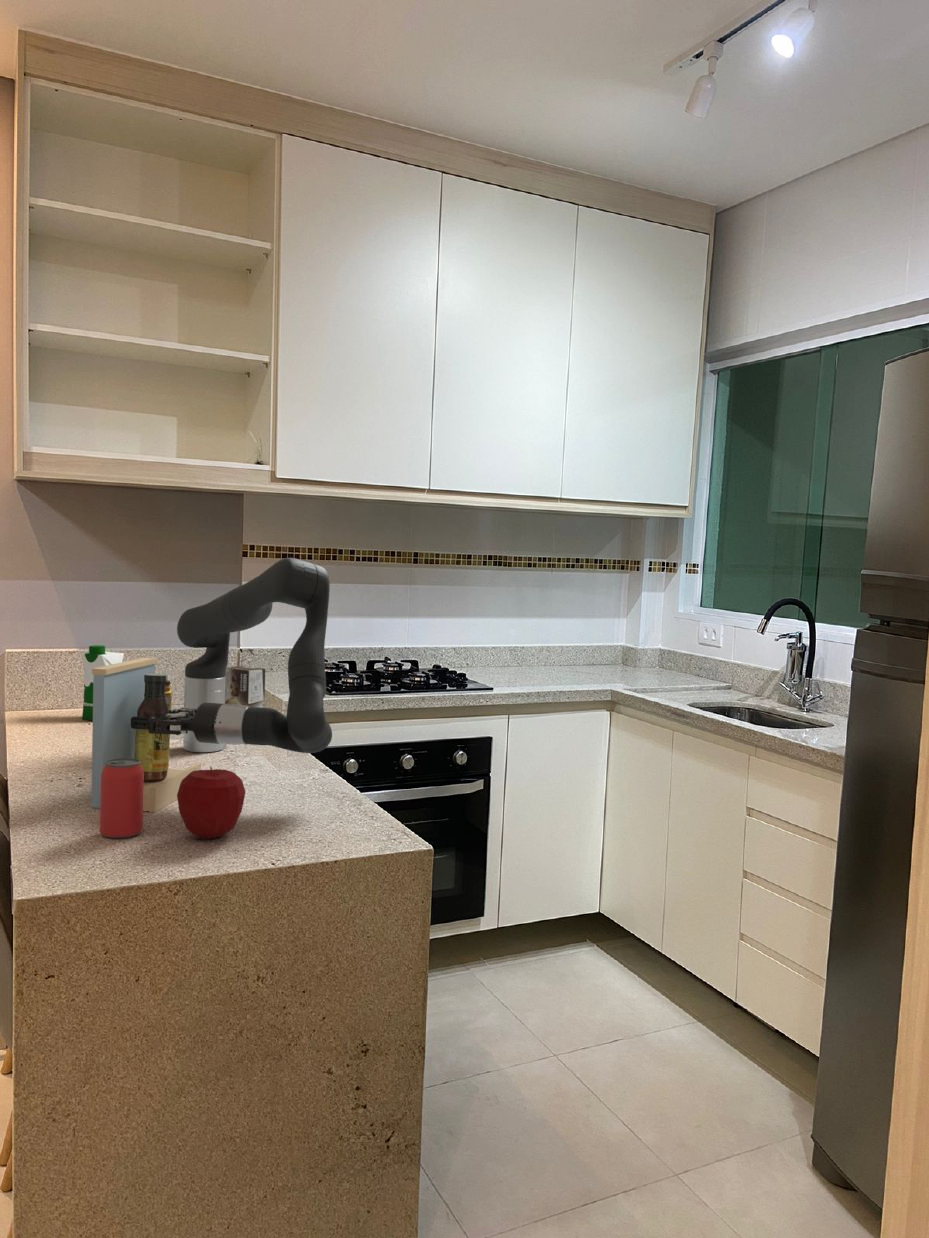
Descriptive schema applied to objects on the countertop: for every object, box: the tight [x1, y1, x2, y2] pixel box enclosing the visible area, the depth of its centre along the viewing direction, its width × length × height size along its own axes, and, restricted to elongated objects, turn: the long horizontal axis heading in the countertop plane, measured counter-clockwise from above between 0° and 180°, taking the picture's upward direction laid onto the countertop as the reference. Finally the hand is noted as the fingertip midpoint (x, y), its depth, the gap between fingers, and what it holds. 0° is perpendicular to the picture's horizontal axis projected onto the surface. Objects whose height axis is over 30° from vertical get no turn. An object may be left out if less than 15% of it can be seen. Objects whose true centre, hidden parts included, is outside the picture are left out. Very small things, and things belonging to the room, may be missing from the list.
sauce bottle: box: [134, 673, 171, 781], centre depth 175 cm, size 6×6×20 cm
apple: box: [177, 766, 246, 839], centre depth 151 cm, size 11×11×12 cm
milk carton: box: [81, 644, 125, 722], centre depth 249 cm, size 9×9×20 cm
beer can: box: [99, 758, 144, 839], centre depth 150 cm, size 7×7×12 cm
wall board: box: [90, 657, 202, 813], centre depth 173 cm, size 20×12×25 cm, turn 173°
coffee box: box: [225, 665, 266, 708], centre depth 246 cm, size 9×6×16 cm
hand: (142, 718), depth 174 cm, fingers open, 8 cm apart
